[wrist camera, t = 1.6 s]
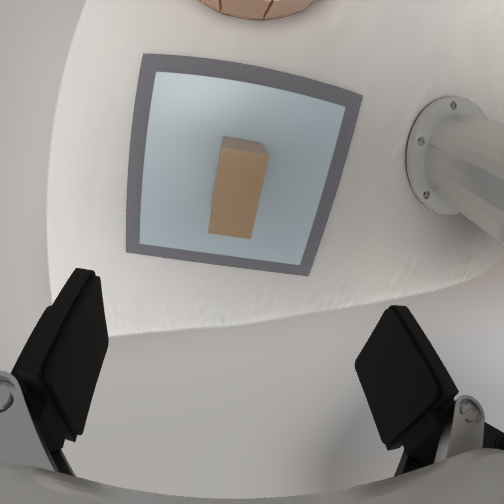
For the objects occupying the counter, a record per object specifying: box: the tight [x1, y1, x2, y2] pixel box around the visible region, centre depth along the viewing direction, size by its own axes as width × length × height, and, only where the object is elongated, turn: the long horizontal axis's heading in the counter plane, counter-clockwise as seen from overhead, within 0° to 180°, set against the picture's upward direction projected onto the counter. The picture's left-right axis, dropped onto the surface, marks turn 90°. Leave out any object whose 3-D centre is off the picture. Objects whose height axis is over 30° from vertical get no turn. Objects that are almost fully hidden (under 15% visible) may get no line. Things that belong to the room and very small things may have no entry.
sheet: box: [140, 72, 345, 265], centre depth 22 cm, size 15×15×6 cm
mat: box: [126, 54, 363, 276], centre depth 25 cm, size 18×18×1 cm
